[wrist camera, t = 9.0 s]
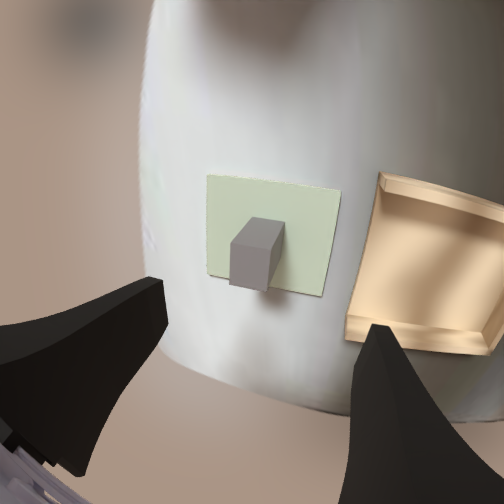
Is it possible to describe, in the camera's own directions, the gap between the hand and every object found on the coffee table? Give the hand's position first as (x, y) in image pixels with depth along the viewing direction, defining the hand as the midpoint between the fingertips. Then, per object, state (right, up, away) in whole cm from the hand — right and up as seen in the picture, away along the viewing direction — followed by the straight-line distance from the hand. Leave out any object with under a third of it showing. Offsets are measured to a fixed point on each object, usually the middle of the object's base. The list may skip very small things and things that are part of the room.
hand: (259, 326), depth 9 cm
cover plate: (+1, +4, +9) cm, 10 cm away
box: (+12, +1, +6) cm, 14 cm away
